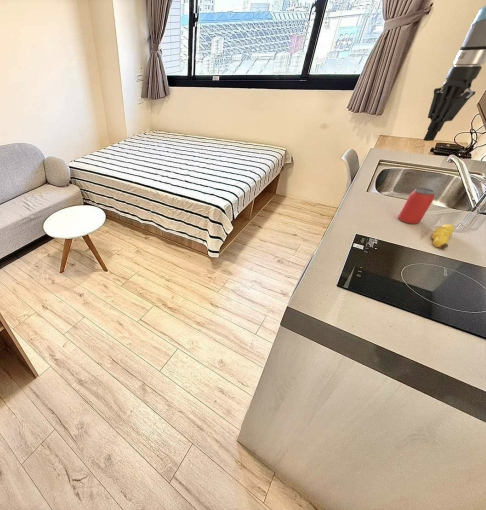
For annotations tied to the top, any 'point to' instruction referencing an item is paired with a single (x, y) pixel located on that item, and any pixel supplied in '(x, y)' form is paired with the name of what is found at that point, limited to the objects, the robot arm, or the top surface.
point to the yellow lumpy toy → (442, 235)
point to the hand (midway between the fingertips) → (428, 140)
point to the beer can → (416, 205)
